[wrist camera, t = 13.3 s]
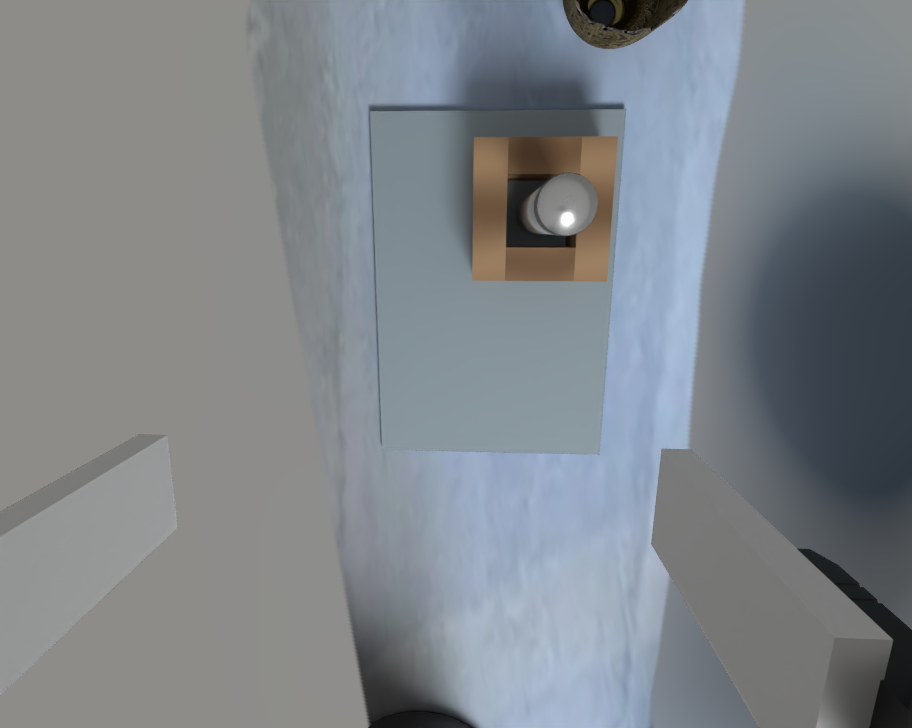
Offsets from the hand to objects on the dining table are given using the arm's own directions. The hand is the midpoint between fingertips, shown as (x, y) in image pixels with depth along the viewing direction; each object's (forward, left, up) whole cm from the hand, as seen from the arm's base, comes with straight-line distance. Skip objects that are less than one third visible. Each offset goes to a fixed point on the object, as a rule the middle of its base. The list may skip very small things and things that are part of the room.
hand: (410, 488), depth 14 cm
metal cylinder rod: (+8, -6, -27) cm, 29 cm away
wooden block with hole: (+8, -6, -27) cm, 29 cm away
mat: (+2, -3, -28) cm, 28 cm away
